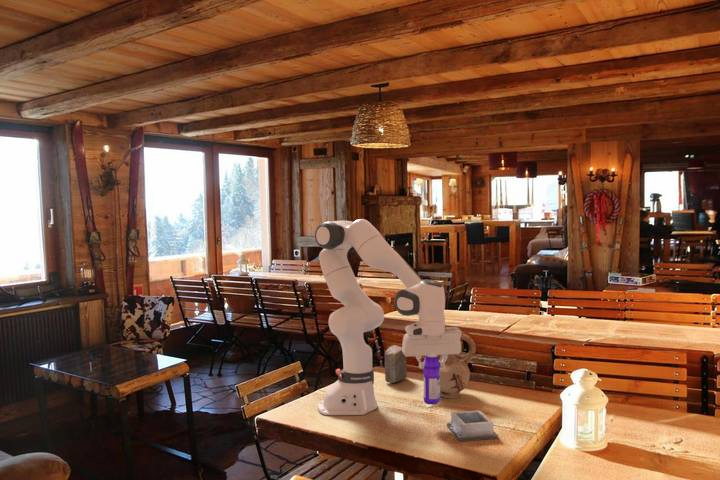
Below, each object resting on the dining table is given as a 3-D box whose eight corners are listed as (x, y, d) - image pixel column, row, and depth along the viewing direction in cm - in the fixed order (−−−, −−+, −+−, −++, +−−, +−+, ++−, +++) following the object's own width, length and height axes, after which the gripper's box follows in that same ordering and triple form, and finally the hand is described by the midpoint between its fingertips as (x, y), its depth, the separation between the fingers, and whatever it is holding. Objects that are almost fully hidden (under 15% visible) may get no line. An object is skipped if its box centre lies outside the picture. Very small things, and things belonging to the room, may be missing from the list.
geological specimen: (395, 385, 235) (395, 350, 234) (383, 383, 238) (382, 348, 238) (407, 378, 244) (407, 345, 243) (395, 376, 247) (394, 343, 247)
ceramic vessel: (444, 385, 234) (444, 326, 233) (483, 394, 221) (483, 333, 220) (417, 395, 221) (416, 334, 220) (457, 407, 208) (456, 341, 207)
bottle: (439, 406, 186) (439, 354, 185) (422, 405, 187) (422, 354, 186) (440, 399, 193) (440, 349, 192) (424, 398, 194) (424, 349, 193)
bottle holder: (459, 441, 177) (459, 426, 176) (446, 426, 189) (446, 412, 189) (498, 438, 179) (498, 423, 178) (482, 423, 192) (482, 409, 191)
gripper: (457, 324, 193) (457, 363, 194) (400, 326, 190) (400, 366, 191) (464, 328, 187) (463, 368, 188) (405, 330, 184) (405, 371, 185)
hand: (431, 367), depth 189 cm, fingers closed on bottle, 6 cm apart
